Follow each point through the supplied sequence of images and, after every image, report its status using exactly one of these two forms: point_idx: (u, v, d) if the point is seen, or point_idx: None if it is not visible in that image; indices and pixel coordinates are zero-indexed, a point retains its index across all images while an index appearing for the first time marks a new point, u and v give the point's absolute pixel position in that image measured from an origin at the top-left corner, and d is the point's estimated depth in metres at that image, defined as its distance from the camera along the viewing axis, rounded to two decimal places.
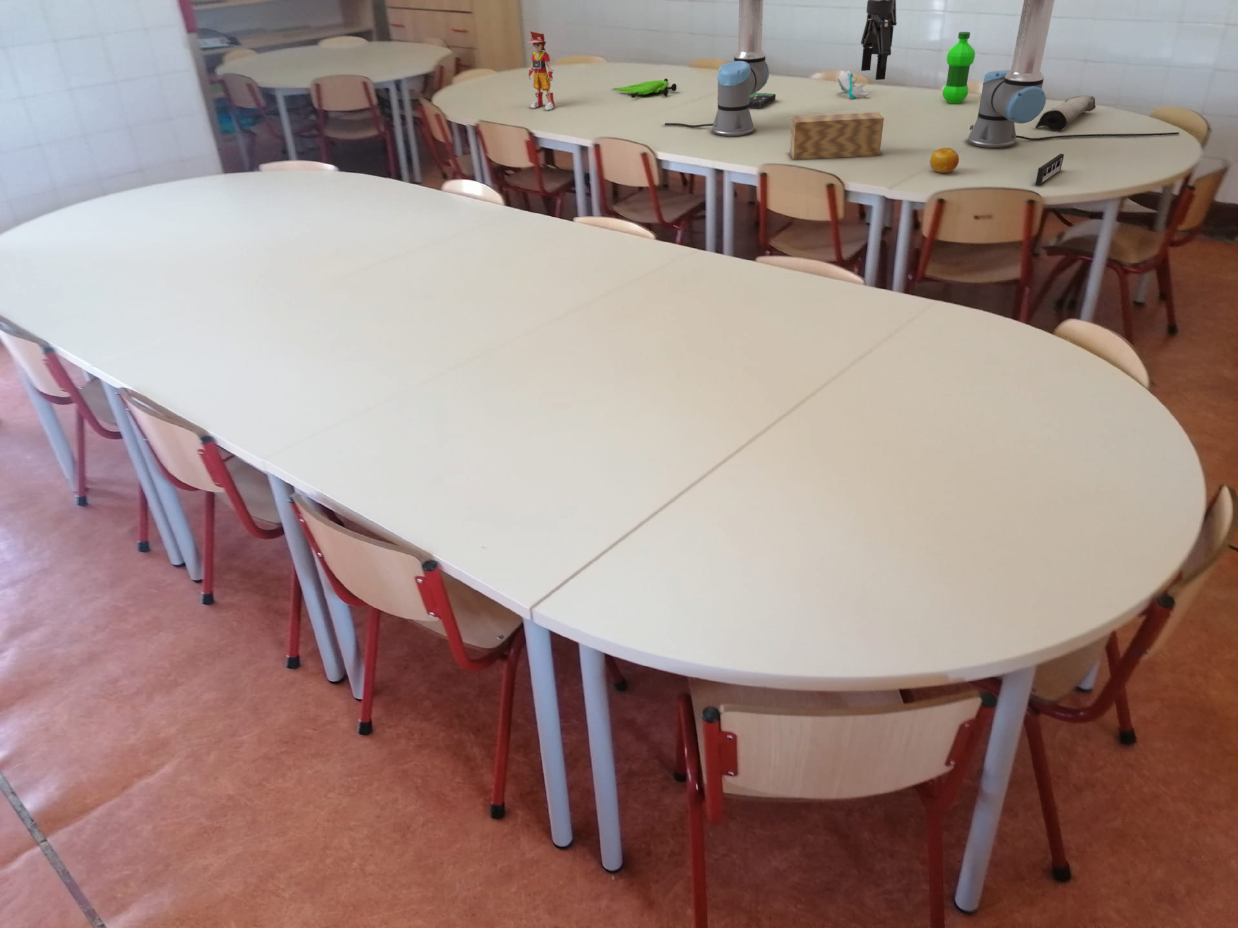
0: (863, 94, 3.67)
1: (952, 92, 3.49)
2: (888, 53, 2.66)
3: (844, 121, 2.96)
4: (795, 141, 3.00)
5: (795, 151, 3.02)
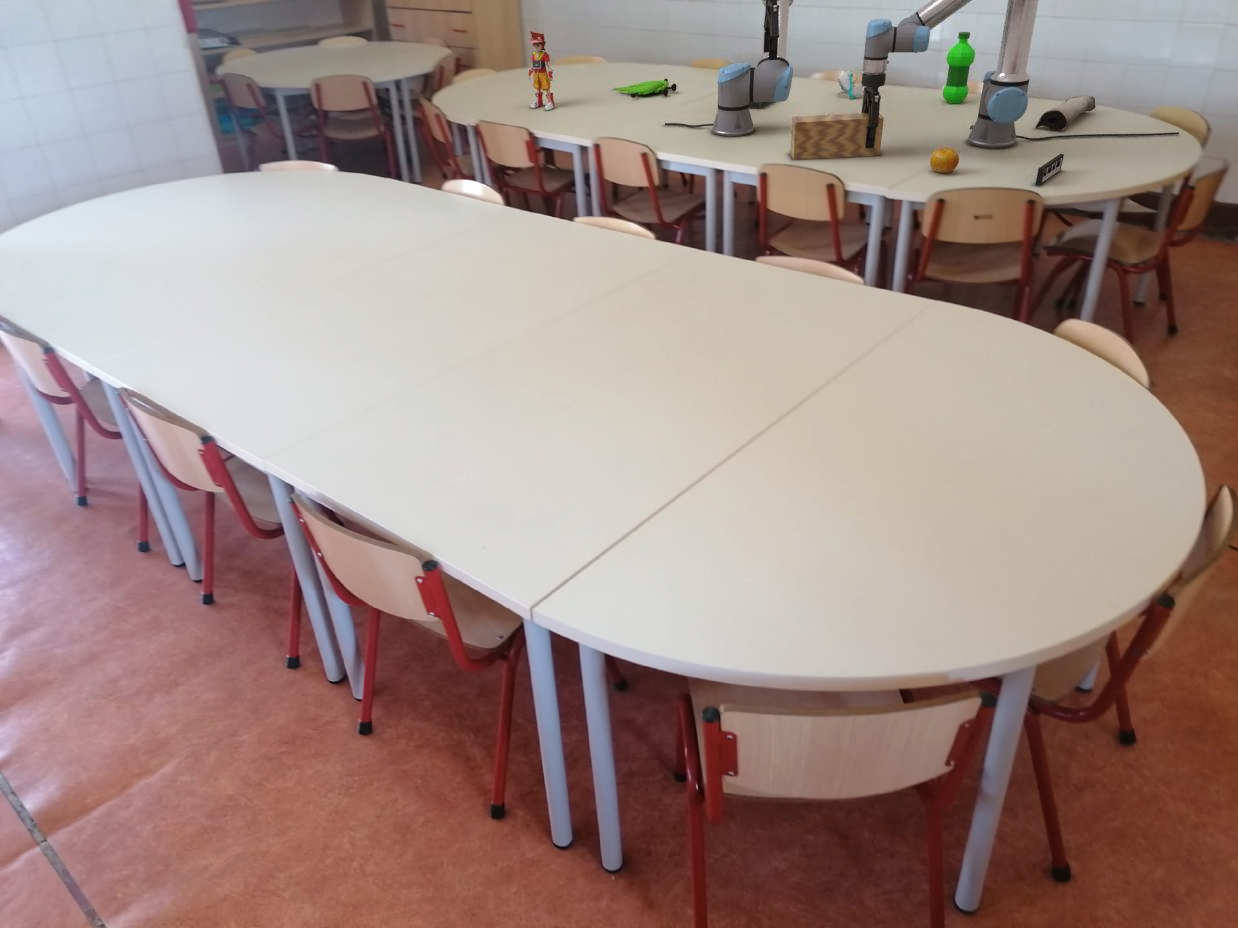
0: (863, 94, 3.67)
1: (952, 92, 3.49)
2: None
3: (844, 121, 2.96)
4: (795, 141, 3.00)
5: (795, 151, 3.02)
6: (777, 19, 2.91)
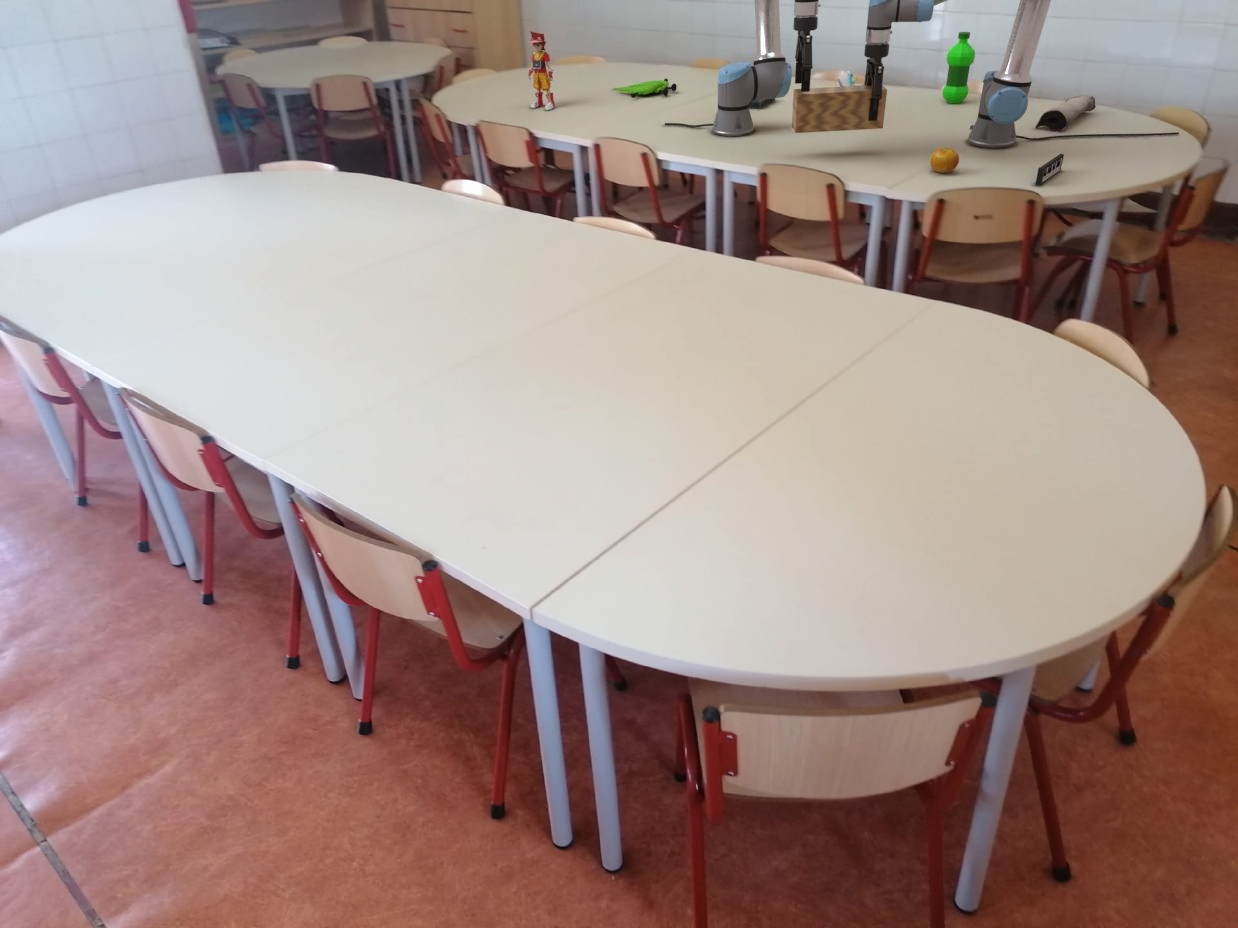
0: None
1: (952, 92, 3.49)
2: None
3: (847, 93, 2.91)
4: (797, 114, 2.95)
5: (797, 124, 2.97)
6: (810, 50, 2.82)
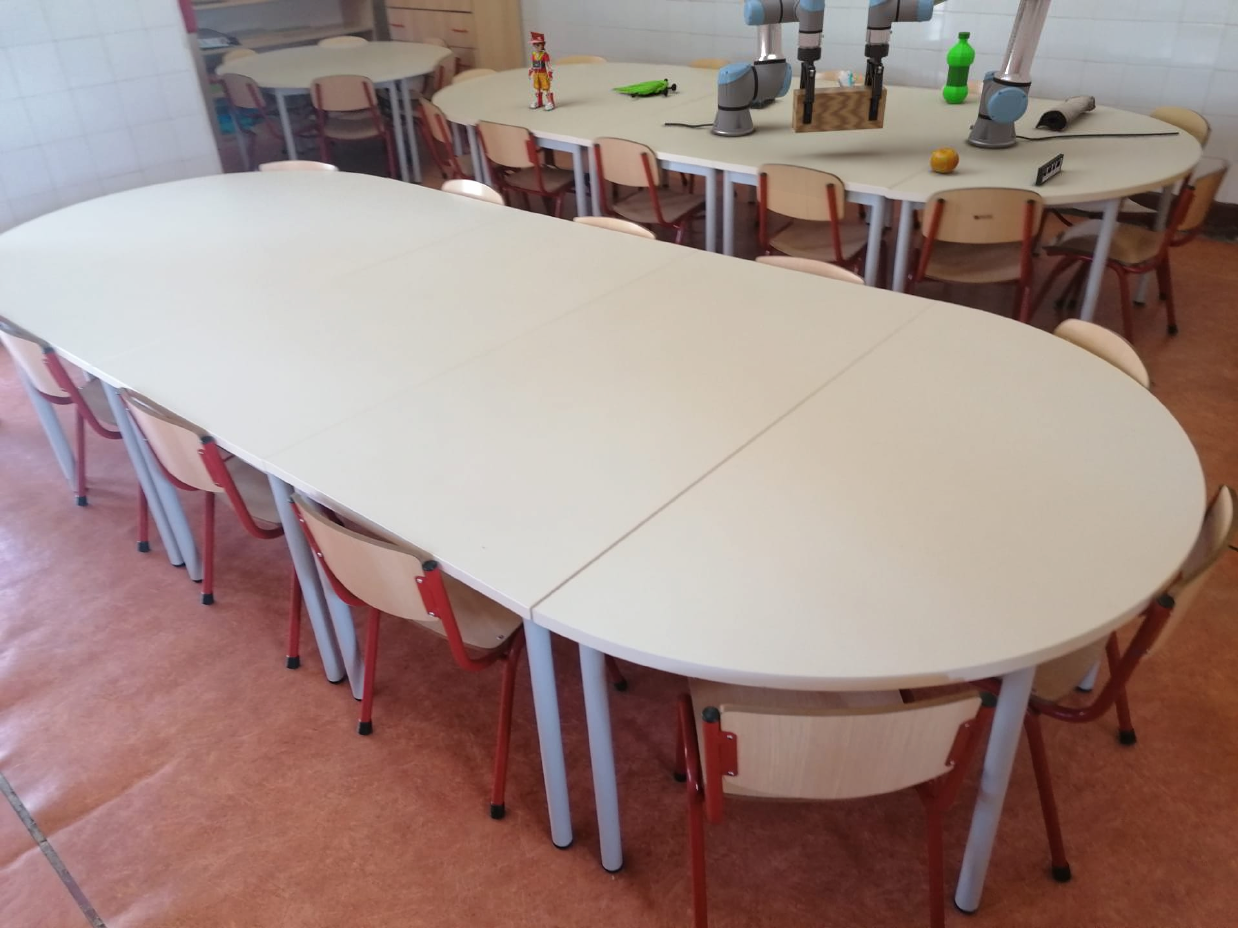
0: None
1: (952, 92, 3.49)
2: None
3: (847, 93, 2.91)
4: (797, 114, 2.95)
5: (797, 124, 2.97)
6: (813, 84, 2.87)
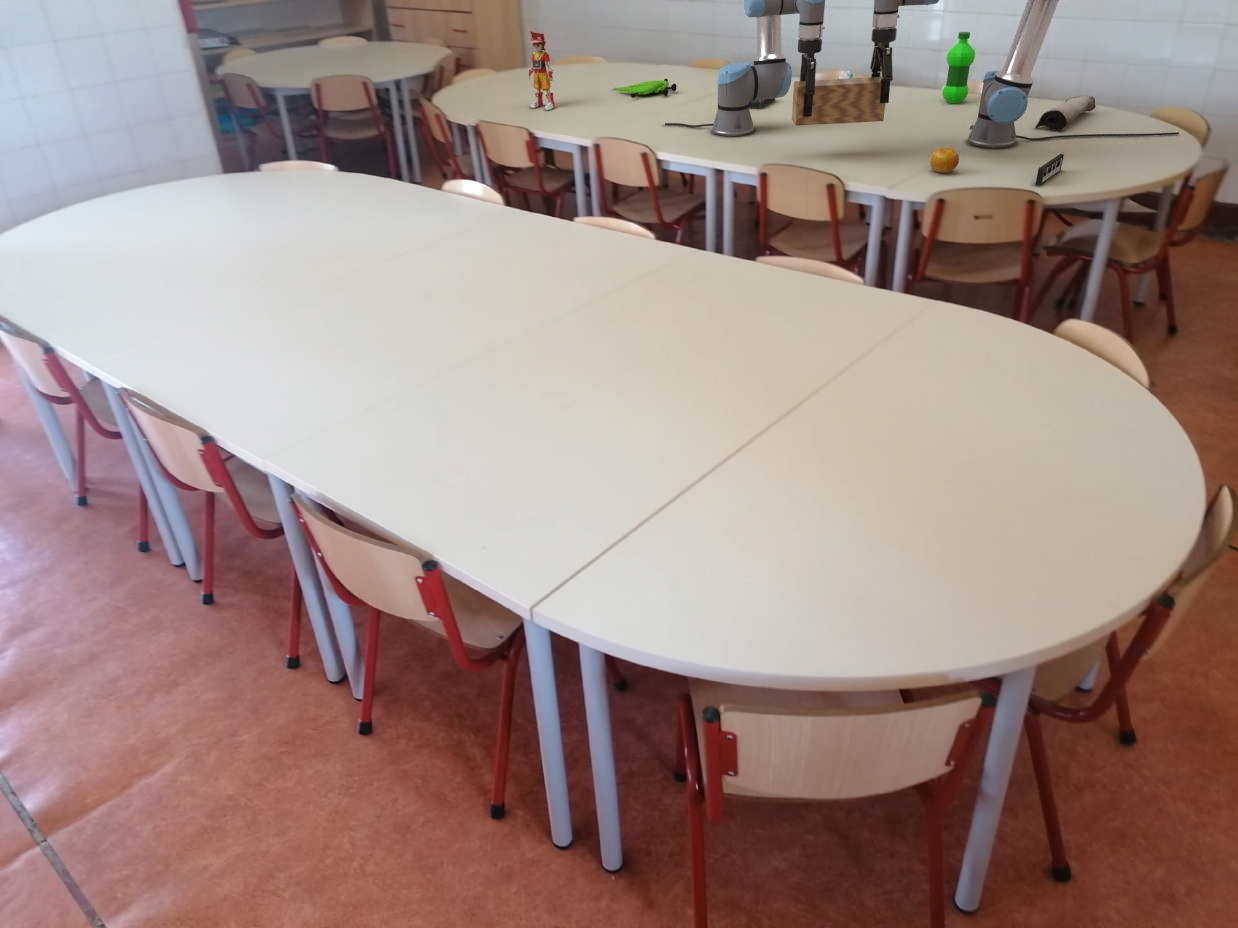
0: None
1: (952, 92, 3.49)
2: None
3: (847, 86, 2.90)
4: (797, 106, 2.94)
5: (797, 117, 2.96)
6: (813, 76, 2.86)
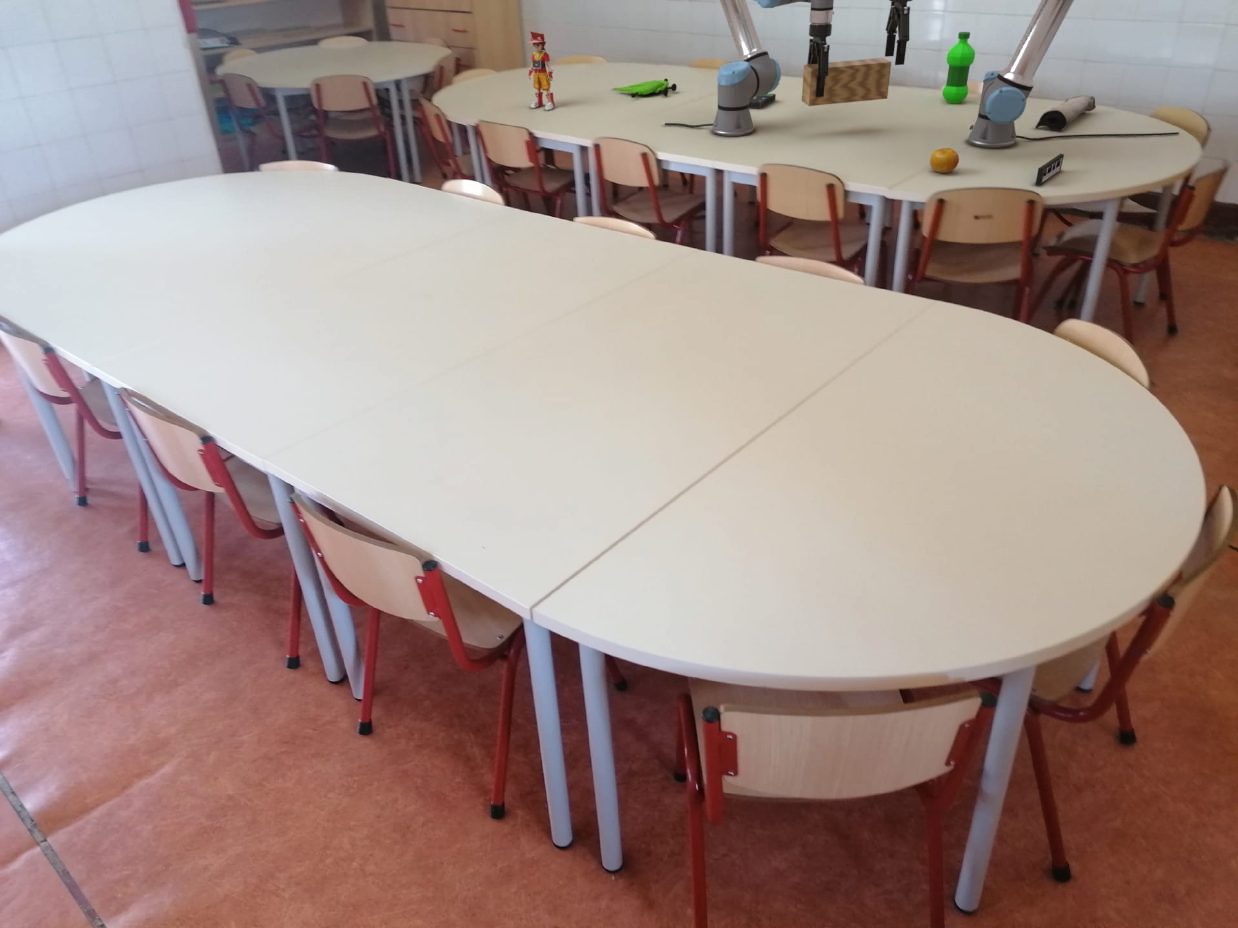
0: None
1: (952, 92, 3.49)
2: None
3: (855, 67, 3.11)
4: (810, 88, 3.12)
5: (810, 97, 3.14)
6: (827, 58, 3.05)
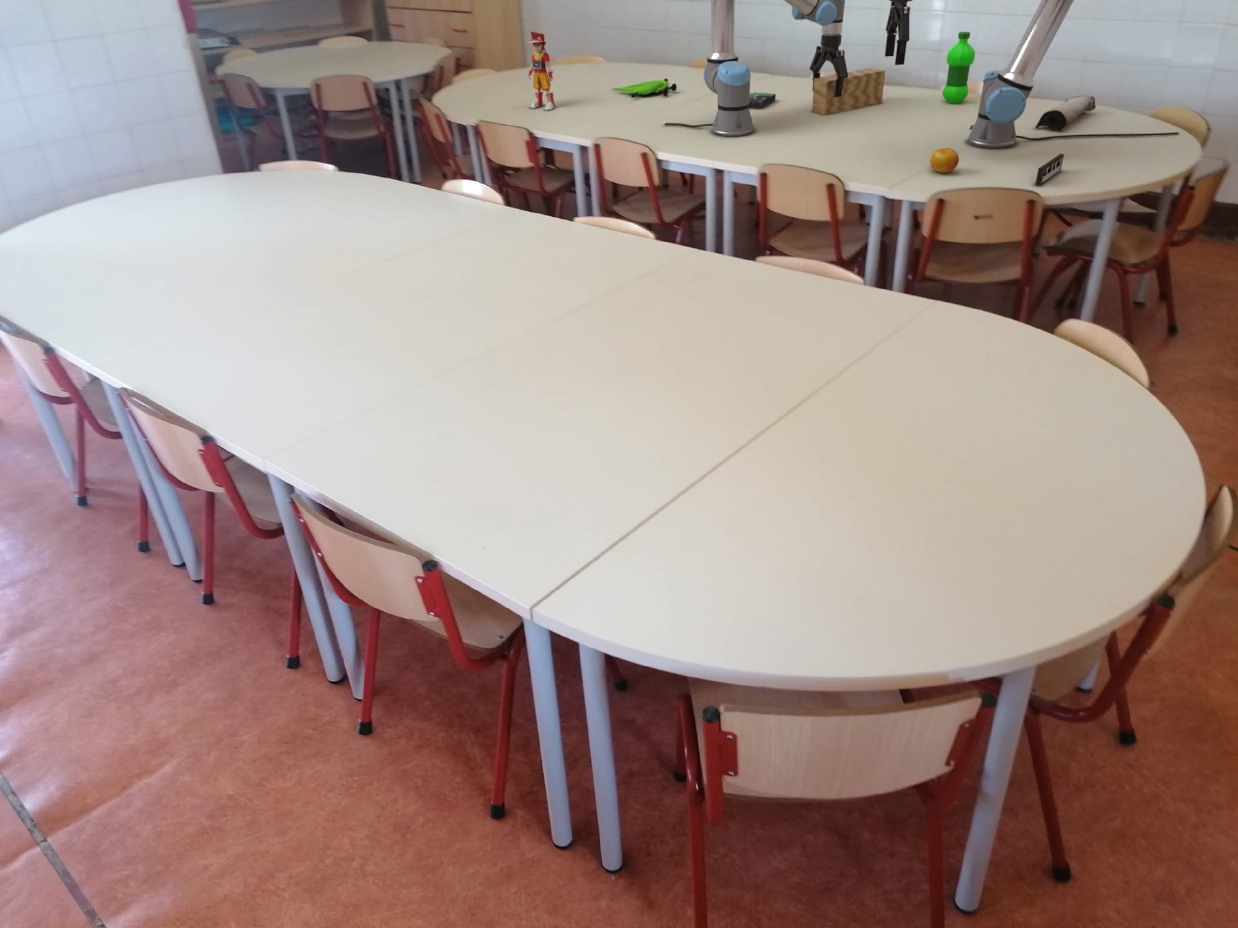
0: None
1: (952, 92, 3.49)
2: None
3: (859, 76, 3.49)
4: (826, 98, 3.46)
5: (826, 107, 3.48)
6: (844, 62, 3.37)
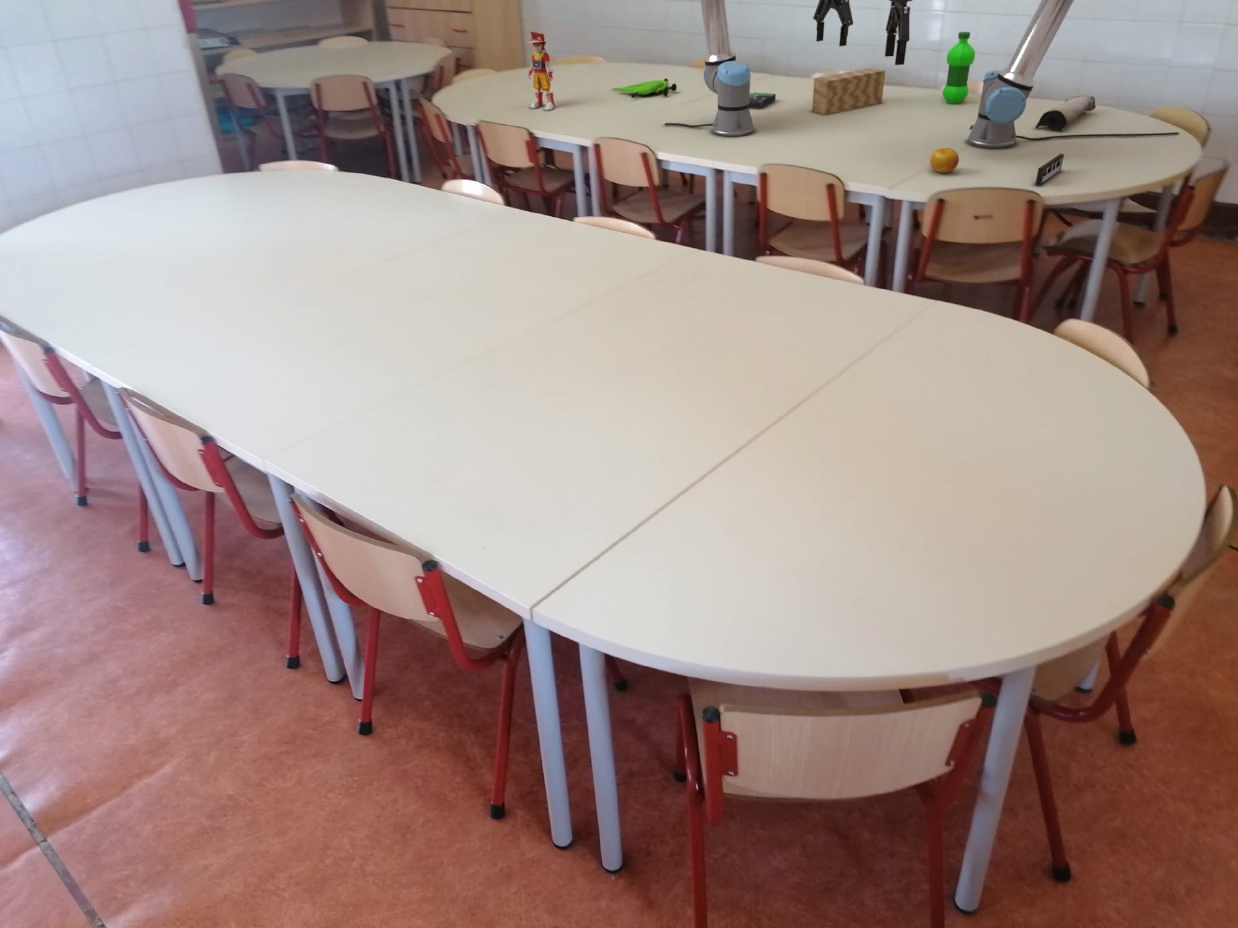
0: None
1: (952, 92, 3.49)
2: None
3: (859, 76, 3.49)
4: (826, 98, 3.46)
5: (826, 107, 3.48)
6: (849, 9, 3.27)
